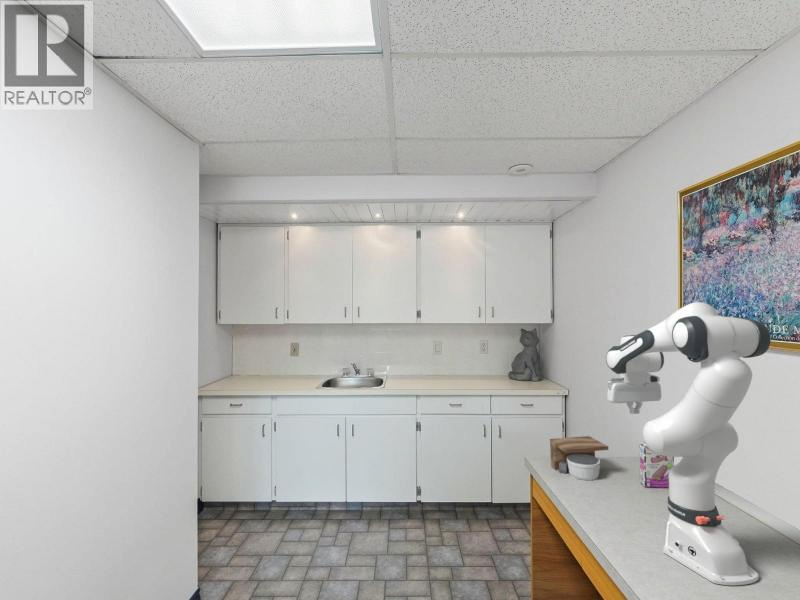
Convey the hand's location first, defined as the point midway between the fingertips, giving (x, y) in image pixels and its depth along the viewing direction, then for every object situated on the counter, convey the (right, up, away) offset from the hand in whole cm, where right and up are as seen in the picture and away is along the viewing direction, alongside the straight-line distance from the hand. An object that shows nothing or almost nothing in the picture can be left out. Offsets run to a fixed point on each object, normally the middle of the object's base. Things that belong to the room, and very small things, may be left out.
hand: (634, 413), depth 156 cm
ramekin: (-11, -32, +19) cm, 39 cm away
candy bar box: (+13, -31, +7) cm, 34 cm away
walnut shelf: (-11, -32, +23) cm, 41 cm away
